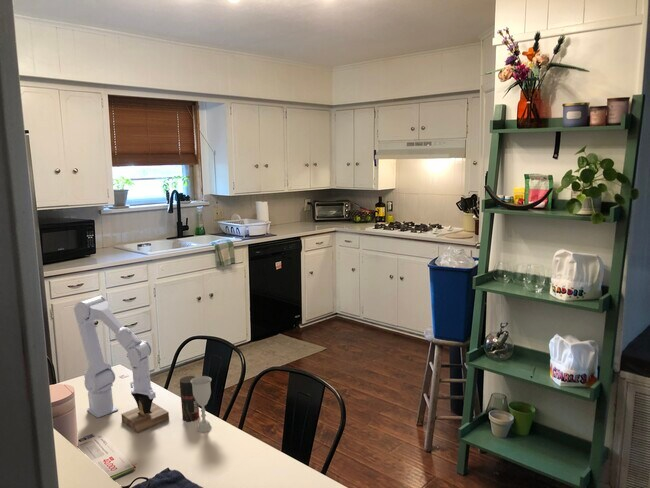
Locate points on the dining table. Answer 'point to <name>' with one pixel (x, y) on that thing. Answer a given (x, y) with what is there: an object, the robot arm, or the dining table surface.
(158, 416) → the socket block
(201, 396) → the chalice
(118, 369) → the dining table surface
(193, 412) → the deodorant
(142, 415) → the pin
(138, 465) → the dining table surface
